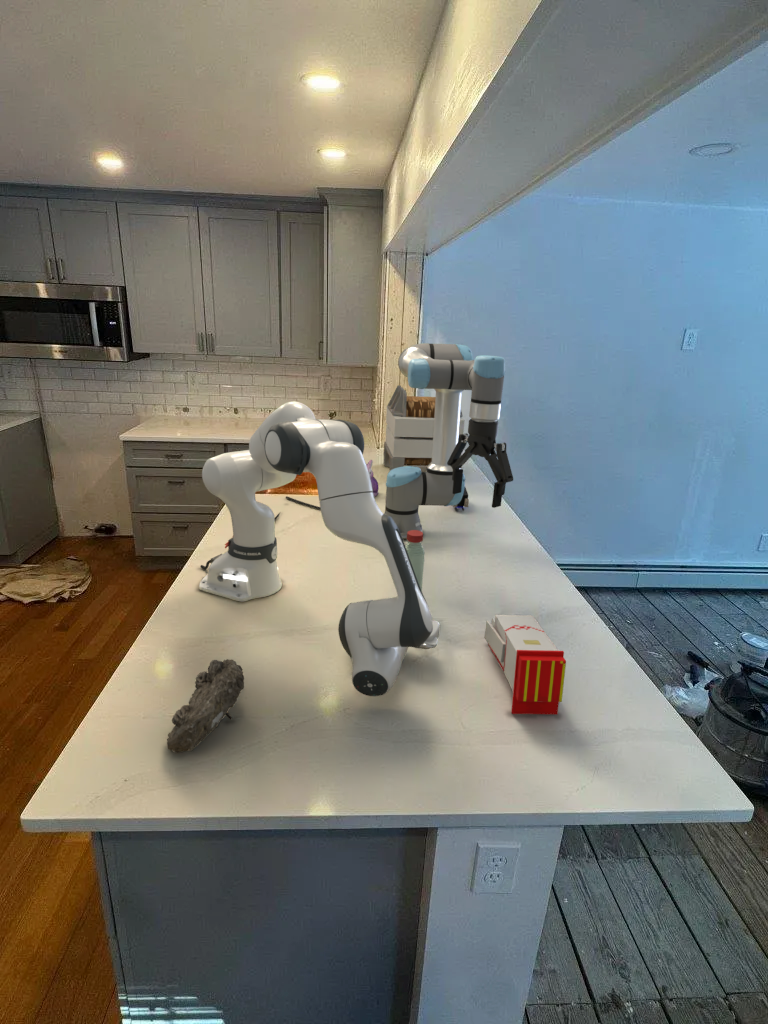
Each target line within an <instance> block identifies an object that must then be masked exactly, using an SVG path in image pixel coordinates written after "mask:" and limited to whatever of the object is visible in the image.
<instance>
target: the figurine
mask: <svg viewBox="0 0 768 1024" xmlns="http://www.w3.org/2000/svg"><path fill="white" fill-rule="evenodd" d="M373 463H374V461H373V459H370V460H369V461H368V462H367V463H366V466H367V469H368V472H369V476H370V480H371V484H372V489H373V494H374V497H376V496H378V494H379V489H380V488H379V487H380V486H379V482H378V480H377V479H376V478H375V477H374V472H373V468H372V466H373Z"/></svg>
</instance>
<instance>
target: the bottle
mask: <svg viewBox="0 0 768 1024" xmlns="http://www.w3.org/2000/svg"><path fill="white" fill-rule="evenodd" d="M405 547H406V550H407V552H408V555H409V558H410V561H411V564H412V567H413V569H414V572H415V575H416V578H417V581H418V583H419V586H420V589H421V591H422V592H423V584H424V583H423V581H424V570H425V569H424V568H425V567H424V566H425V555H426V552H425V549H424V547H423V545H422V542H419V543H413V542H409V541H408V542H407V543H406V545H405Z"/></svg>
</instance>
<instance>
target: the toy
mask: <svg viewBox="0 0 768 1024" xmlns="http://www.w3.org/2000/svg"><path fill="white" fill-rule="evenodd" d="M494 615H495V616H494V617H491V622H490V620H485V621H486V622H485V630H484V640H485V641H486V642H487V646H488V647H489V649H490V651H491V652H492V654H493V656H494V657H495V659H496V661H497V663H498V665H499V667H500V668H501V670H502V671H503V674H504V676H505V678H506V680H507V682H508V684H509V686H510V689H511V690H512V701H511V712H510V713H511V714H512V715H556V716H558V715H559V714H558V713H559V705H560V703H562V702H563V695H564V694H563V693H564V686H565V685H564V683H565V677H566V676H565V675H566V667H567V666H566V665H567V660H566V658H564V656H565V651H564V650H559V649H558V648H557V646H556V645H555V644H554V642H553V641H552V640H551V638H550V637H549V636H548V634H547V633H546V631H544V629H543V628H542V626H541V625H540V623H539V622H538V620H536V618H535V617H534V615H531V614H530V615H527V614H526V615H523V614H519V615H518V614H494Z"/></svg>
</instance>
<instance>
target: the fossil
mask: <svg viewBox="0 0 768 1024" xmlns="http://www.w3.org/2000/svg"><path fill="white" fill-rule="evenodd" d="M243 670H244V669H243V667H242V665H240V664H237V662H236V661H235V660H234V659H232V658H231V659H227V658H226V659H224V660H223V661H222V660H217V659H212V660H211V661H210V663H209V665H208V666H207V671H201V672H199V673H198V674H197V675H196V676H195V680H194V684H195V685H194V687H195V689H194V690H193V693H192V694H191V697H190V698H189V700H188V704H184V705H182V706H181V707H180V709H177V710H176V711H175V713H174V715H173V716H172V718H171V723H172V724H173V727H172V730H171V731H170V732H168V734H167V738H166V741H167V742H166V745H167V749H168V750H169V751H173V752H174V753H176V754H178V753H182V752H188V751H189V752H192V751H193V750H195V748H196V747H197V746H199V744H200V743H201V742H203V741H204V740H205V739H206V738H207V737H208V736H209V735H210V734H211V733H212V732H214V730H215V729H217V727H218V726H219V724H220V722H221V721H222V720H223V719H224V718H225V716H226V717H227V719H229V720H233V717H232V715H230V714H229V710H230V709H231V708H234V706H235V704H236V703H237V702H238V699H239V697H240V695H241V693H242V691H243V690H245V689H244V688H245V675H244V671H243Z"/></svg>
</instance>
